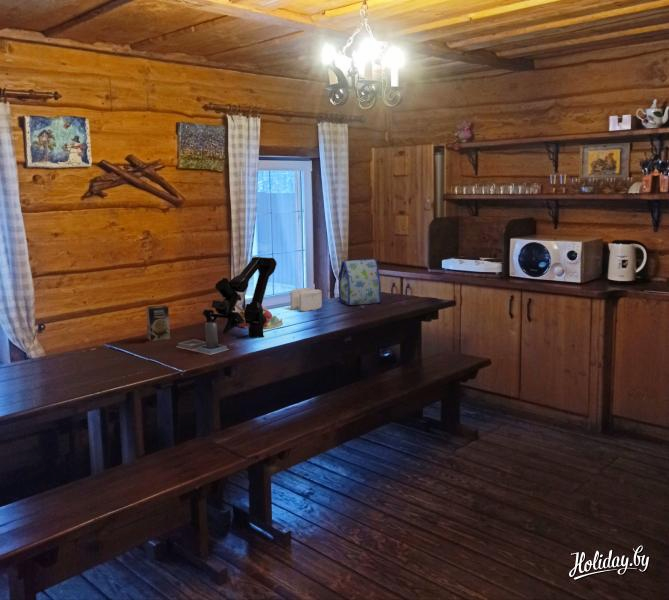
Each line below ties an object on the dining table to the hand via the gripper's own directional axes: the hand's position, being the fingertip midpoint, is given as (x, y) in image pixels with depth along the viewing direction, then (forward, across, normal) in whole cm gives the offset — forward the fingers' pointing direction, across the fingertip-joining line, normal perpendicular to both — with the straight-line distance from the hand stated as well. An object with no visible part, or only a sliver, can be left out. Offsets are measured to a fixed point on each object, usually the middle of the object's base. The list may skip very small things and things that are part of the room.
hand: (215, 332), depth 295 cm
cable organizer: (-62, -11, +75) cm, 98 cm away
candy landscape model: (-32, -14, +45) cm, 56 cm away
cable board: (+7, -6, +5) cm, 10 cm away
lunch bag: (-83, +8, +97) cm, 128 cm away
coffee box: (+3, -36, +9) cm, 38 cm away
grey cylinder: (+7, 0, +3) cm, 8 cm away
